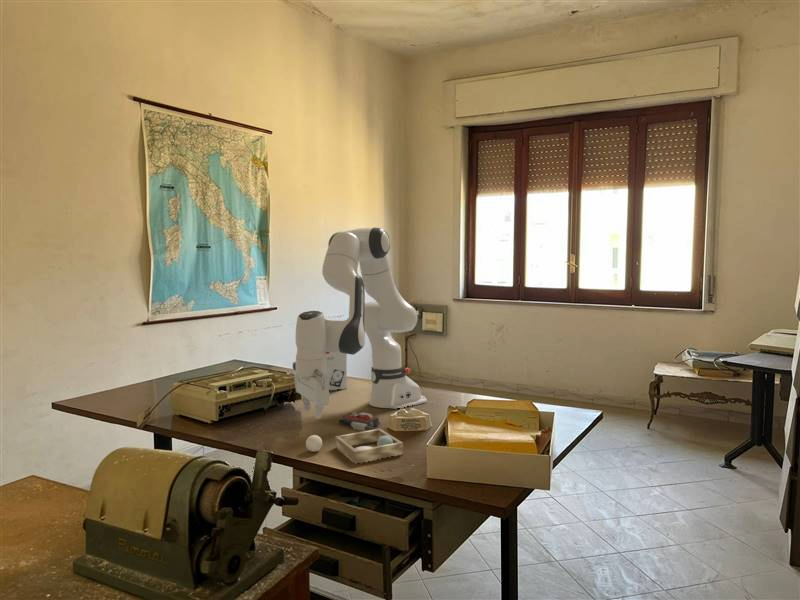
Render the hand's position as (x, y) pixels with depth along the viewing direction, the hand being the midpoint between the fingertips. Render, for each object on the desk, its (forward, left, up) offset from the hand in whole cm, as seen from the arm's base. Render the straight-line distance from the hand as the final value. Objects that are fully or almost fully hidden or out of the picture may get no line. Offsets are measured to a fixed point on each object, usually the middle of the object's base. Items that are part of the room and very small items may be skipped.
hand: (312, 413), depth 166 cm
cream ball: (0, 0, -11) cm, 11 cm away
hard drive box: (-30, -68, -12) cm, 75 cm away
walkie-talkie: (-23, -14, -12) cm, 30 cm away
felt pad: (-13, +7, -11) cm, 19 cm away
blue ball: (-18, +11, -11) cm, 24 cm away
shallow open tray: (-14, +8, -11) cm, 20 cm away
